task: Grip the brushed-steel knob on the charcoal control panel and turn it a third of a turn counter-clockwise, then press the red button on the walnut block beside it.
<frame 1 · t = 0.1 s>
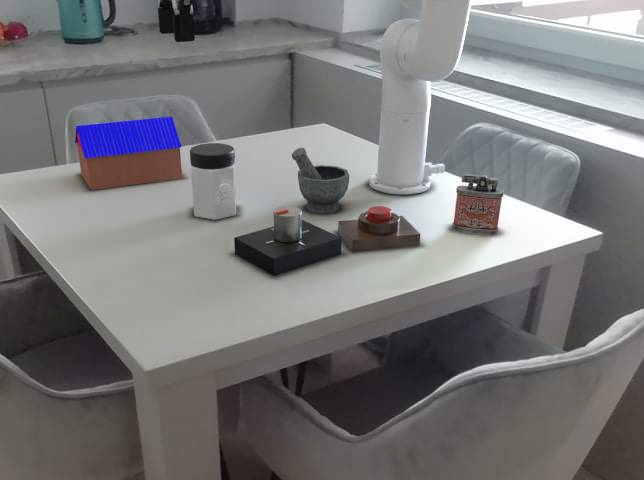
hand: (176, 37, 125), 31 cm above the table, tool pointing down, fingers open, 9 cm apart
button block: (377, 239, 131), on the table
house: (131, 177, 162), on the table
control panel: (287, 254, 126), on the table
dial knob: (287, 223, 123), point 5 cm above the table, hinge at 0.0°
start button: (379, 214, 129), point 4 cm above the table, slide at 0.1 cm
lighter: (474, 231, 135), on the table
jar: (215, 212, 143), on the table
mortar and pestle: (319, 209, 145), on the table
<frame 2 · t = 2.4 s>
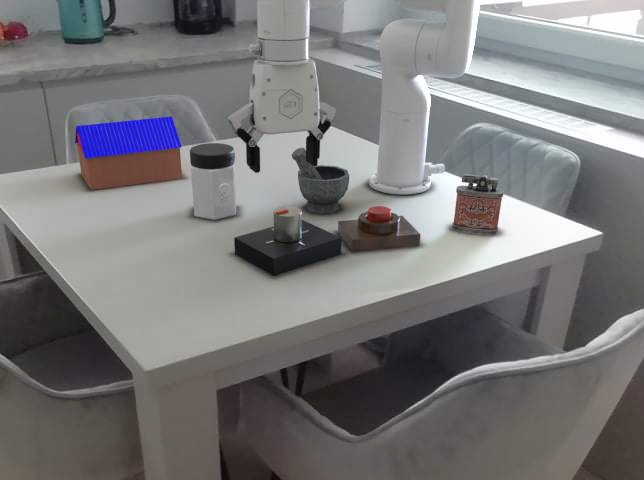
hand: (283, 167, 118), 15 cm above the table, tool pointing down, fingers open, 9 cm apart
nothing on the table moved.
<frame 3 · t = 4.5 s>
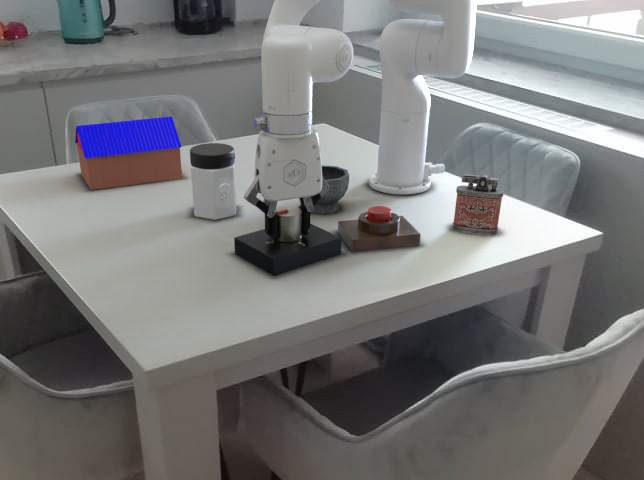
hand: (287, 234, 124), 4 cm above the table, tool pointing down, fingers closed on dial knob, 4 cm apart
dial knob: (287, 223, 123), point 5 cm above the table, hinge at -0.1°, touching gripper
everything else where it was.
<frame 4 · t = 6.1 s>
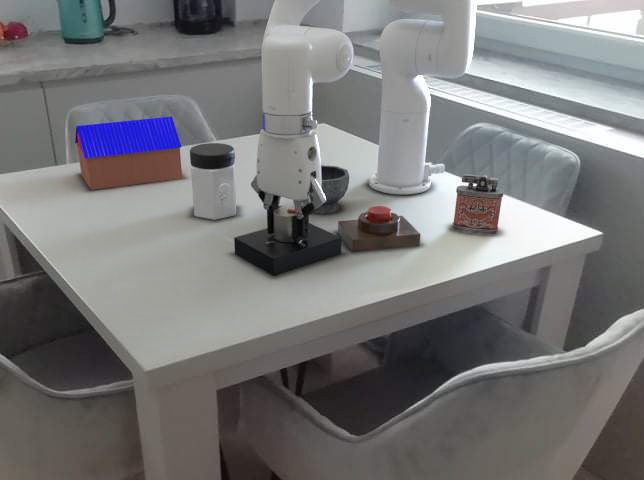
hand: (287, 234, 124), 4 cm above the table, tool pointing down, fingers closed on dial knob, 4 cm apart
dial knob: (287, 223, 123), point 5 cm above the table, hinge at 119.9°, touching gripper
everything else where it was.
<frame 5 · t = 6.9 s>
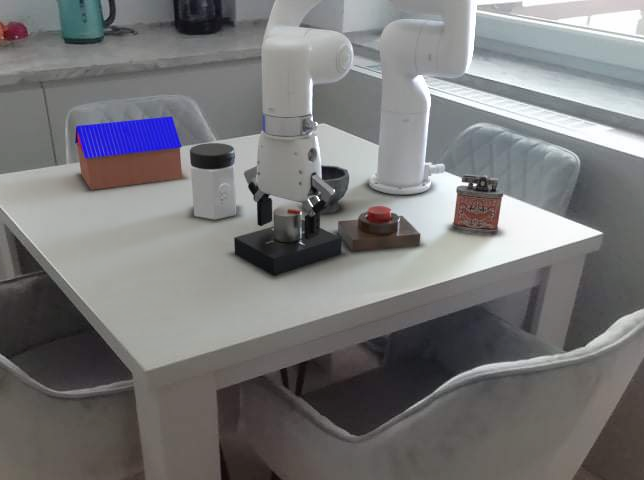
hand: (288, 230, 124), 4 cm above the table, tool pointing down, fingers open, 9 cm apart
dial knob: (287, 223, 123), point 5 cm above the table, hinge at 120.4°
everything else where it was.
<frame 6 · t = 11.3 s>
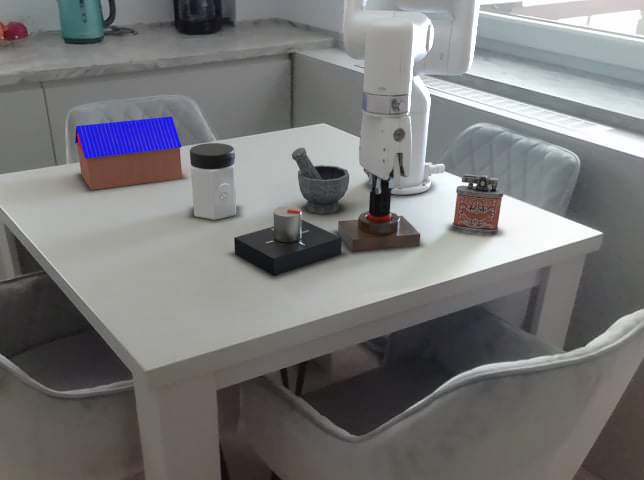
hand: (379, 213, 129), 5 cm above the table, tool pointing down, fingers closed
start button: (379, 218, 129), point 4 cm above the table, slide at -0.6 cm, touching gripper
everything else where it was.
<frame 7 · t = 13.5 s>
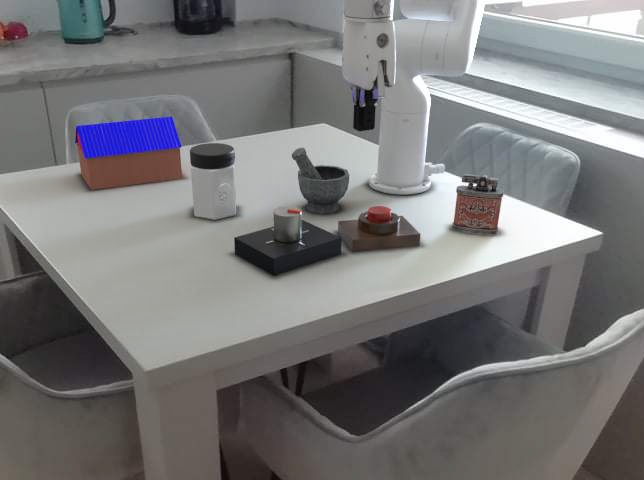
hand: (363, 129, 125), 18 cm above the table, tool pointing down, fingers closed
start button: (379, 214, 129), point 4 cm above the table, slide at 0.1 cm
everything else where it was.
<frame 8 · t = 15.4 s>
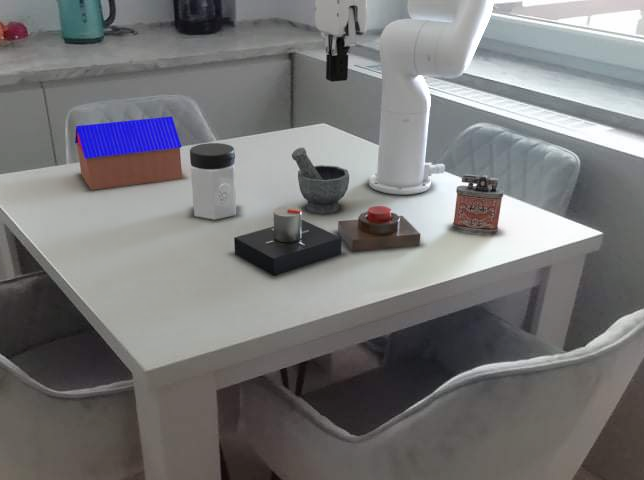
hand: (336, 79, 125), 25 cm above the table, tool pointing down, fingers closed
nothing on the table moved.
at the end: dial knob at +120° (first picture: +0°); start button pushed in 1.1 cm at the most during the clip, back to where it started at the end; start button slide at 0.1 cm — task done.
